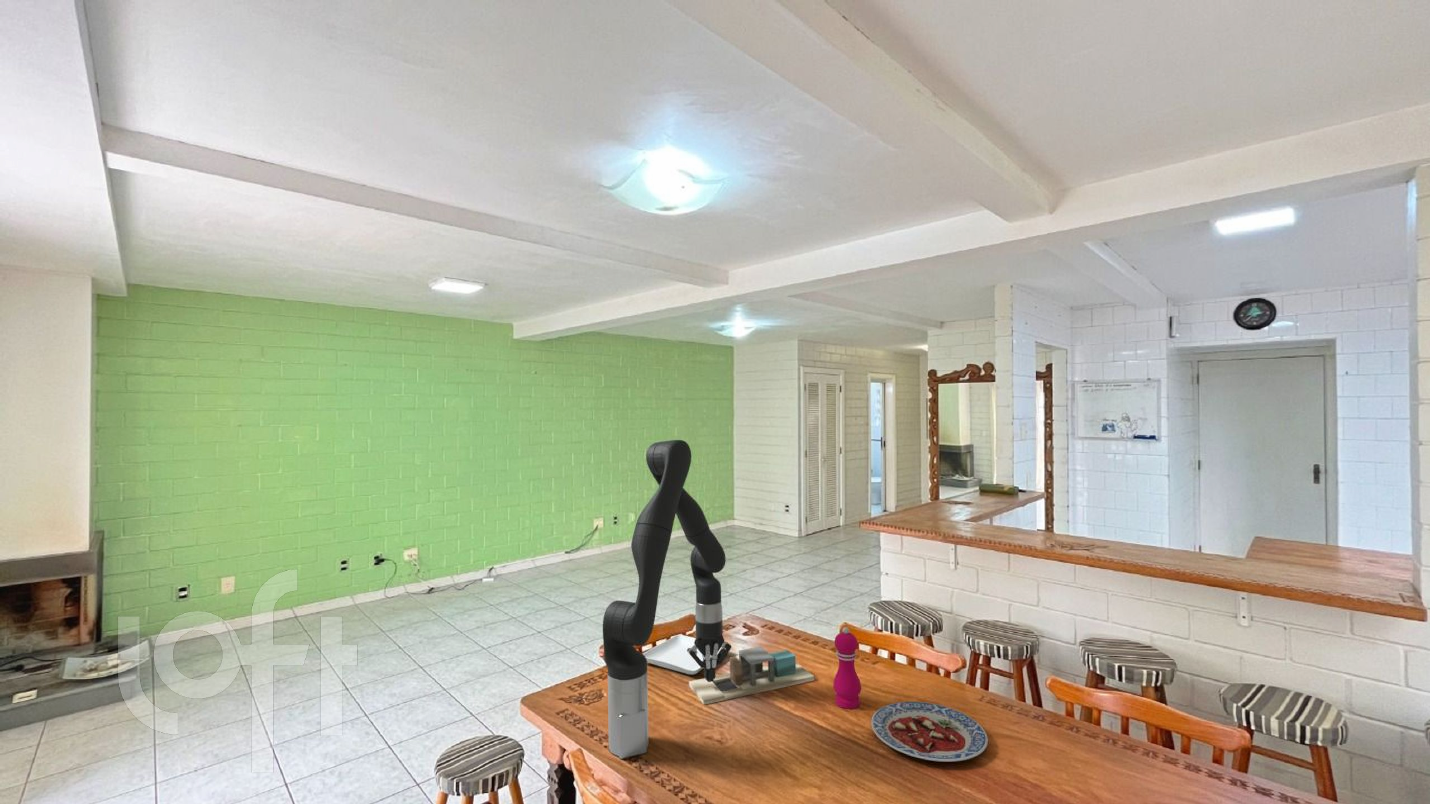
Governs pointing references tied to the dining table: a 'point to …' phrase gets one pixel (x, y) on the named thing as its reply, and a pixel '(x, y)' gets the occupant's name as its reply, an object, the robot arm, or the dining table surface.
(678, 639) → the salad plate
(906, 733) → the ceramic plate
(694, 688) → the deck tunnel
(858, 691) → the pepper mill
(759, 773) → the dining table surface
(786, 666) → the sled
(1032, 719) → the dining table surface
